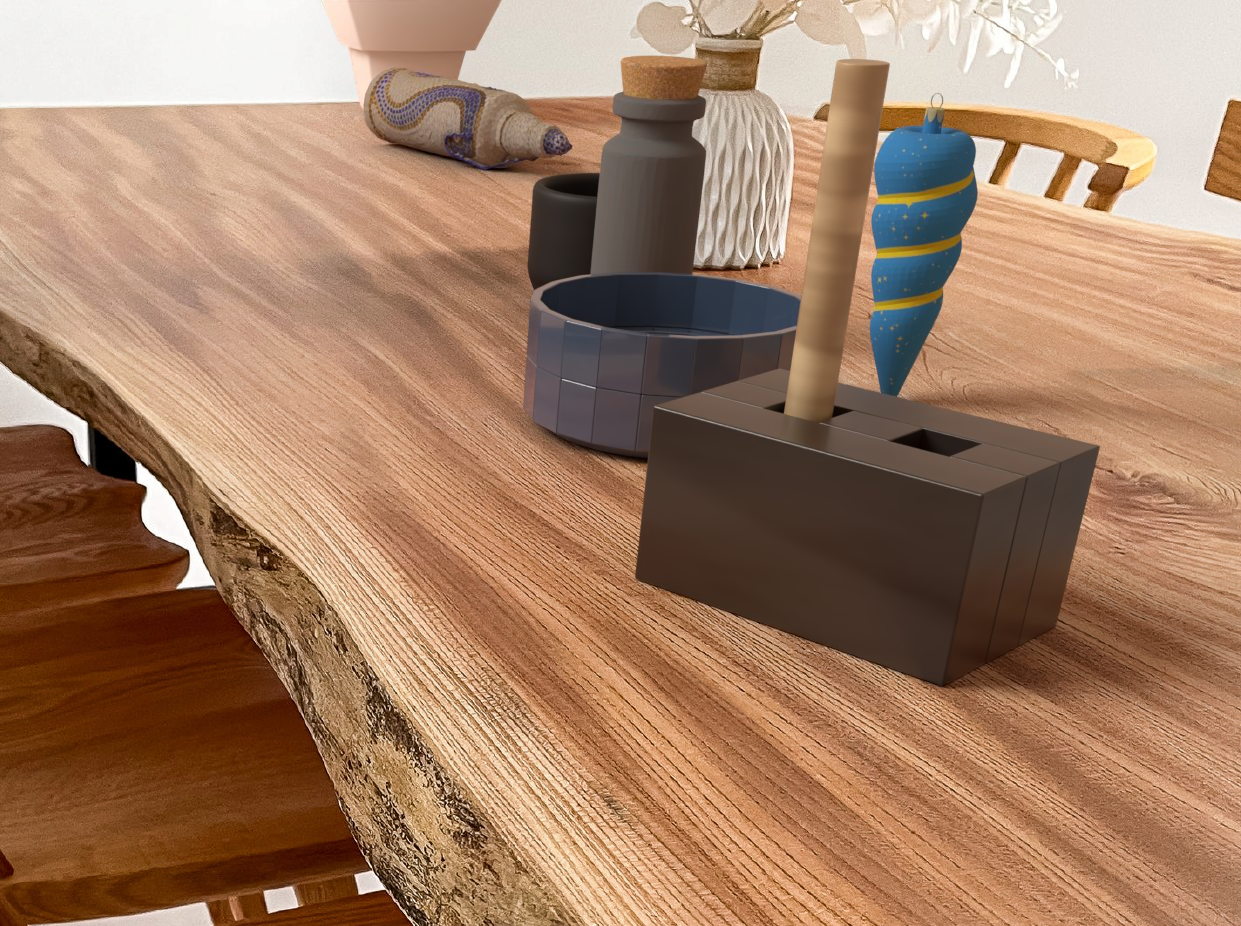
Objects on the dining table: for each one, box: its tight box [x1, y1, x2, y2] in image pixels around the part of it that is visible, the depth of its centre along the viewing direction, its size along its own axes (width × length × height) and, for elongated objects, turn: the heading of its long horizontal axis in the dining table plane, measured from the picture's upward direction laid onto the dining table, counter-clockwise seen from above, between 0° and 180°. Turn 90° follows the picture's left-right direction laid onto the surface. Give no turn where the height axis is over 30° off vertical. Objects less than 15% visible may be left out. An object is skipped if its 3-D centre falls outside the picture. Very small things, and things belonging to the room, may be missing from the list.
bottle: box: [590, 55, 708, 275], centre depth 100 cm, size 6×6×15 cm
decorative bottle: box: [363, 68, 573, 170], centre depth 156 cm, size 26×8×7 cm, turn 33°
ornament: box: [869, 92, 979, 397], centre depth 89 cm, size 5×5×15 cm
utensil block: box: [634, 369, 1101, 687], centre depth 67 cm, size 8×14×7 cm, turn 44°
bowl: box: [321, 0, 502, 112], centre depth 177 cm, size 19×19×14 cm
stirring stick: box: [784, 58, 891, 423], centre depth 65 cm, size 2×2×19 cm
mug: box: [527, 172, 600, 291], centre depth 108 cm, size 12×9×7 cm
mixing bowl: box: [522, 272, 802, 459], centre depth 87 cm, size 14×14×6 cm
